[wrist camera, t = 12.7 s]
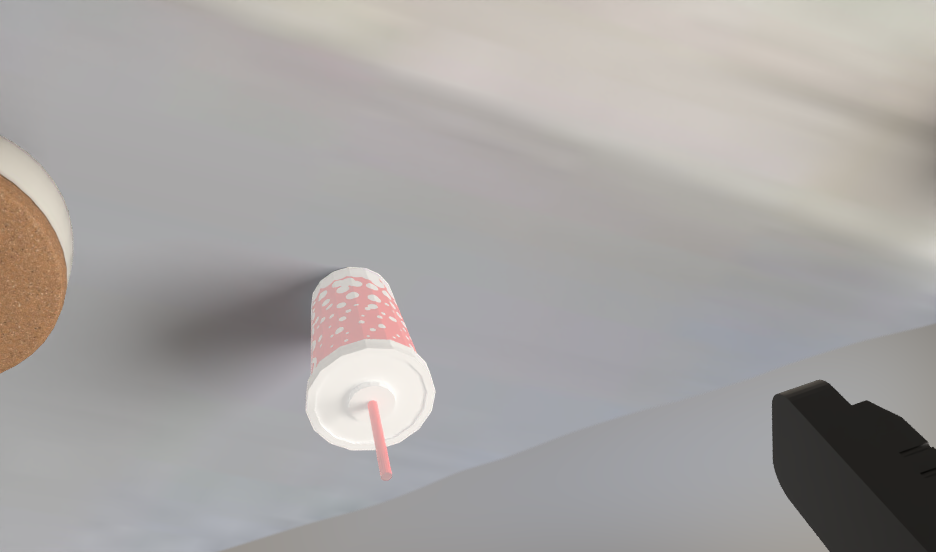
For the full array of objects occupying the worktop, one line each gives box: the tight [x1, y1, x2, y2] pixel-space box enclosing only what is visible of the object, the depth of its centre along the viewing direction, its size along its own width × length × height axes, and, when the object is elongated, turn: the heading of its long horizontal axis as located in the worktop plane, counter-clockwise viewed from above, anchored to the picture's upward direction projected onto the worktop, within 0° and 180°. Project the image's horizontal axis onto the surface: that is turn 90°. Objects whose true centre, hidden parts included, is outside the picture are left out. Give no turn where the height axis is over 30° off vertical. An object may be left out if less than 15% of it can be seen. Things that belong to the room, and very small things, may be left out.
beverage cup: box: [306, 267, 436, 481], centre depth 39 cm, size 6×6×14 cm
